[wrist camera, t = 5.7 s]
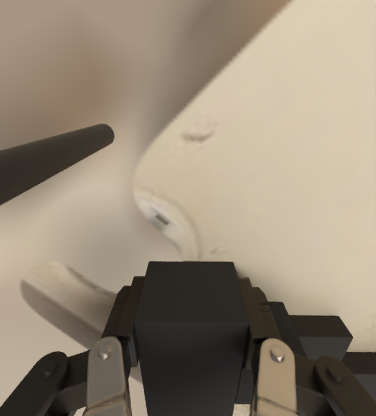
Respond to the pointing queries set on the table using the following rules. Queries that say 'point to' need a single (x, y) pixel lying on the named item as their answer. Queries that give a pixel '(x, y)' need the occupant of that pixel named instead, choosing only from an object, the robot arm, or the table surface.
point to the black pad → (335, 347)
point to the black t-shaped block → (197, 339)
